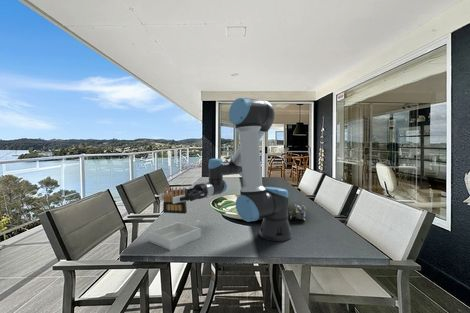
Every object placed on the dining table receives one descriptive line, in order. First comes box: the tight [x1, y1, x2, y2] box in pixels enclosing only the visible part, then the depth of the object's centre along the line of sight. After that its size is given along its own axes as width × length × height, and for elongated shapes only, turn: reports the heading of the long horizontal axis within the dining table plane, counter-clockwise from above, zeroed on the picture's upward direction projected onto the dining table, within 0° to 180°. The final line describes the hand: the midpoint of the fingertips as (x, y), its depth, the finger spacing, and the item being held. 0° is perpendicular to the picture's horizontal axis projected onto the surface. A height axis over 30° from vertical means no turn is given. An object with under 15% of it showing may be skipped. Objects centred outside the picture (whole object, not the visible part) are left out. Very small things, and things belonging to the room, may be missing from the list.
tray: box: [148, 221, 202, 252], centre depth 117 cm, size 16×18×4 cm
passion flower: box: [288, 202, 308, 221], centre depth 145 cm, size 11×11×12 cm
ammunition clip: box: [162, 186, 188, 214], centre depth 116 cm, size 11×2×12 cm, turn 82°
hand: (166, 198), depth 113 cm, fingers closed on ammunition clip, 9 cm apart
